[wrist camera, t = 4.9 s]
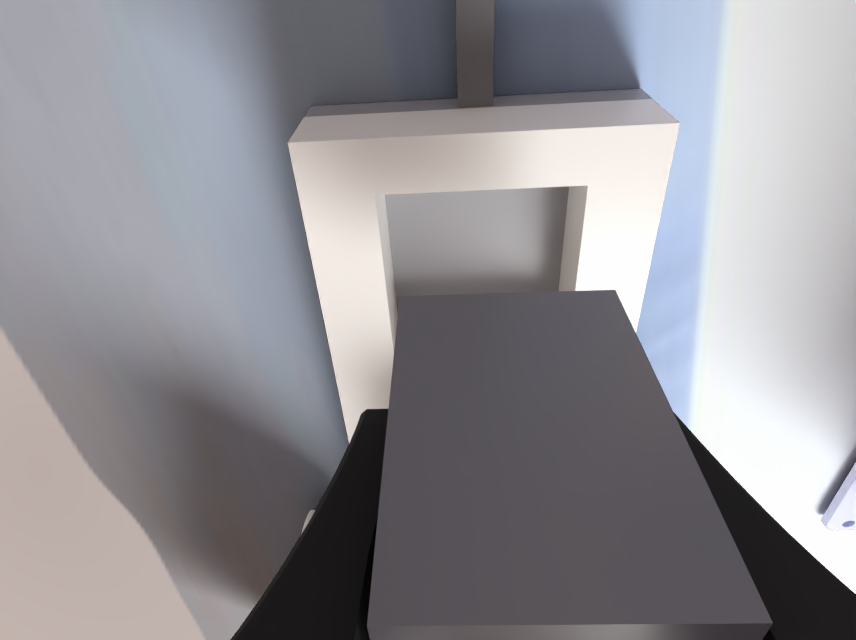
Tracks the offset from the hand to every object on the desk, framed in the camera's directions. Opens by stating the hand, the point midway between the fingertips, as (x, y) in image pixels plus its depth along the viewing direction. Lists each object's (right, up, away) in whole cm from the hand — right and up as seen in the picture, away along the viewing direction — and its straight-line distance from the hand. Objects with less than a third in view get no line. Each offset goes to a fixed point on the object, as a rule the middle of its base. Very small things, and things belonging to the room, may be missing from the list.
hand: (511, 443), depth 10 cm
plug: (0, +1, +1) cm, 2 cm away
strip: (0, +4, +8) cm, 9 cm away
